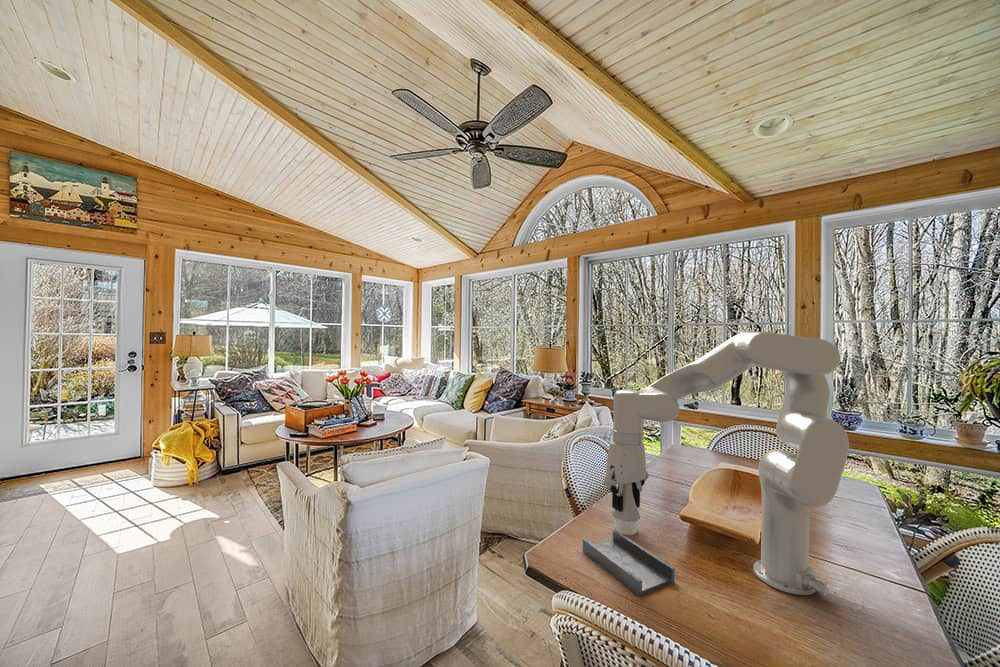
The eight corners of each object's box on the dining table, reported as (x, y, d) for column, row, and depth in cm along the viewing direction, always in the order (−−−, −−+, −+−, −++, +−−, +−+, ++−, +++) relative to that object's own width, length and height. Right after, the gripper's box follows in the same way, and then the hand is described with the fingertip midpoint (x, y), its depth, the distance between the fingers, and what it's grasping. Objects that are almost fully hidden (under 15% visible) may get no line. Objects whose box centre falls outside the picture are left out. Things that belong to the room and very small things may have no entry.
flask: (641, 513, 102) (642, 475, 102) (638, 525, 95) (640, 485, 95) (613, 507, 105) (614, 471, 105) (609, 518, 98) (610, 479, 98)
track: (674, 582, 94) (674, 567, 94) (638, 596, 88) (639, 581, 88) (615, 542, 111) (615, 529, 111) (582, 551, 106) (582, 539, 106)
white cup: (641, 538, 114) (641, 504, 114) (613, 534, 115) (614, 501, 116) (637, 525, 122) (637, 493, 122) (611, 522, 123) (611, 491, 123)
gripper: (640, 431, 107) (638, 496, 107) (592, 437, 99) (590, 507, 99) (662, 438, 100) (660, 507, 100) (613, 445, 93) (611, 520, 93)
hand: (625, 506), depth 100 cm, fingers closed on flask, 5 cm apart
